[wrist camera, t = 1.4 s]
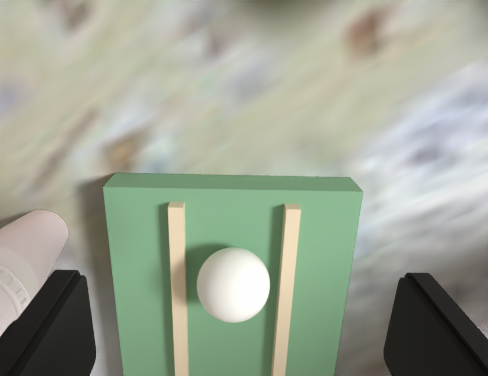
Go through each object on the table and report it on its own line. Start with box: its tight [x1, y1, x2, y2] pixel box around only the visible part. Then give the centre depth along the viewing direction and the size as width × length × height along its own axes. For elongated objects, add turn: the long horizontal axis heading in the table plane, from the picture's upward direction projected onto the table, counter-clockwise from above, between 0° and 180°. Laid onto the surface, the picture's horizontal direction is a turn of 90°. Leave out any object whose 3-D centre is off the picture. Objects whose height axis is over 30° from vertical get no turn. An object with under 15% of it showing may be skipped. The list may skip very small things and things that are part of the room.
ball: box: [197, 247, 270, 323], centre depth 26 cm, size 5×5×5 cm
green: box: [103, 173, 363, 376], centre depth 31 cm, size 18×32×6 cm, turn 178°
